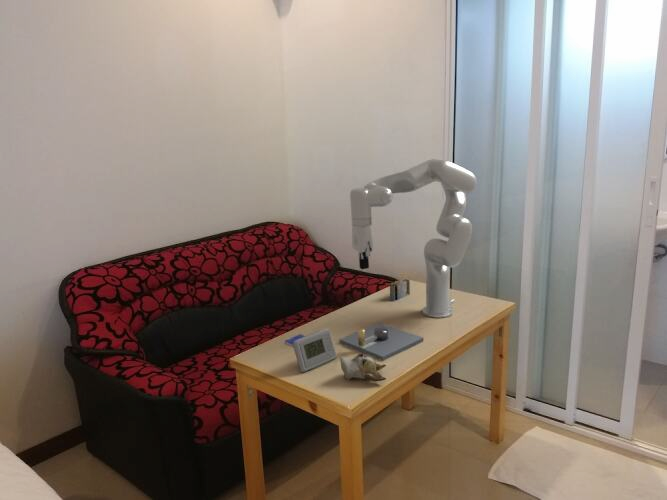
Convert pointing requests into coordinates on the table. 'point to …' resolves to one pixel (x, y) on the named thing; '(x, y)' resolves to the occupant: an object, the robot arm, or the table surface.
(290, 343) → the hard drive
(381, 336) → the lever
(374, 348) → the dial plate
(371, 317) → the table surface
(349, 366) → the ceramic sculpture
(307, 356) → the digital clock
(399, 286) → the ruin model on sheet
